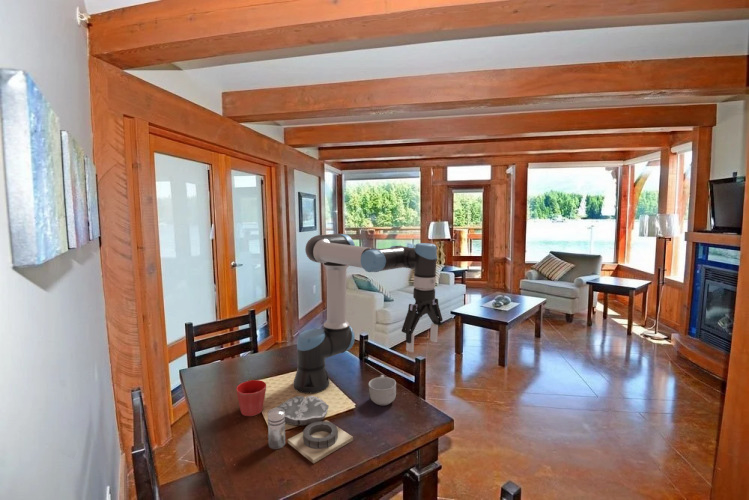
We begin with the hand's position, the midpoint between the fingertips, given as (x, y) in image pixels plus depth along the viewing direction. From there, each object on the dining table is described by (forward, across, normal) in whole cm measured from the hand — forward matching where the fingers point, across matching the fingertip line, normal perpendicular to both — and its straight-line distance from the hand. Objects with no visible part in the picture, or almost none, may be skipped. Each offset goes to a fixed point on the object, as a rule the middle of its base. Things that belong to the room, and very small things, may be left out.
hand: (422, 346), depth 132 cm
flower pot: (+28, -42, +47) cm, 69 cm away
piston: (+28, -45, +22) cm, 58 cm away
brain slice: (+29, -30, +32) cm, 52 cm away
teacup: (+28, 0, +18) cm, 34 cm away
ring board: (+28, -34, +14) cm, 46 cm away
